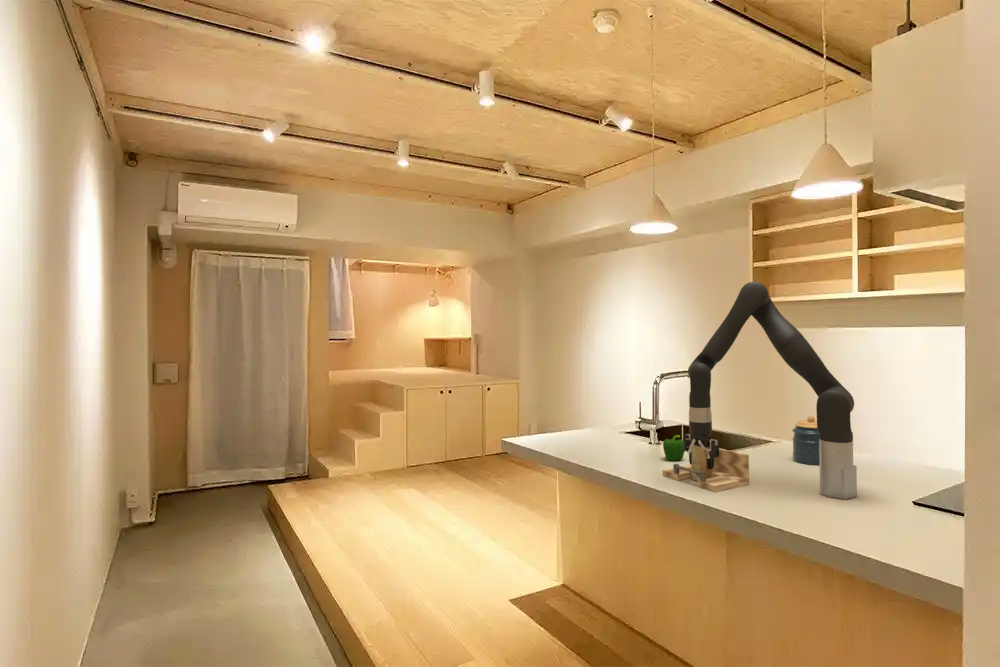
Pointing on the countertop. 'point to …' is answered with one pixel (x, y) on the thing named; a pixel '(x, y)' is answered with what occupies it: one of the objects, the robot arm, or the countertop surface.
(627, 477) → the countertop surface
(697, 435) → the robot arm
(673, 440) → the bell pepper
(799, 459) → the canister
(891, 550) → the countertop surface
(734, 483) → the wooden stand with handle
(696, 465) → the skincare box
